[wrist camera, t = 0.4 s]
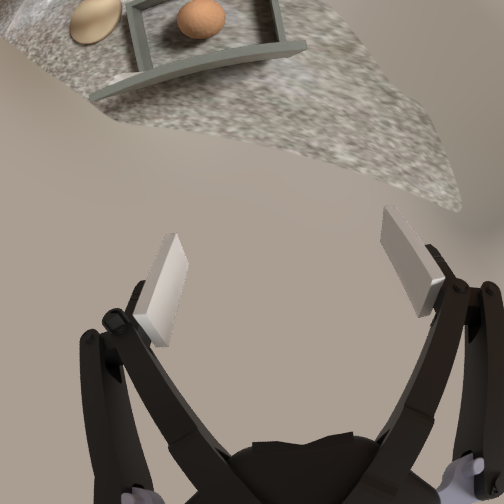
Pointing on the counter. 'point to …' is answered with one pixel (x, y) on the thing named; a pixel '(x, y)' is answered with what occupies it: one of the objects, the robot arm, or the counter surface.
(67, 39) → the counter surface
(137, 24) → the grey hinged box
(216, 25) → the egg
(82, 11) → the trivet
